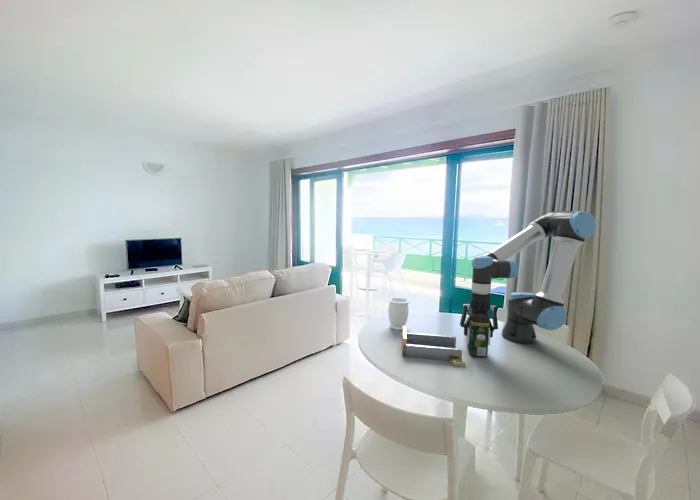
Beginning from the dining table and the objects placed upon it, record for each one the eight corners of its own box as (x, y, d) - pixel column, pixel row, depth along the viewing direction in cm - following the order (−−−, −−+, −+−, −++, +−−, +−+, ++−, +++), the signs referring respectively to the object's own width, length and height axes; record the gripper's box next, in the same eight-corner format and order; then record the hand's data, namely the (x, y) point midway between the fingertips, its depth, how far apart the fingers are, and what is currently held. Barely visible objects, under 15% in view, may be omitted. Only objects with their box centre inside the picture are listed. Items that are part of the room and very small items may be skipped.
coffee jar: (465, 347, 140) (467, 307, 138) (483, 348, 138) (486, 308, 136) (469, 356, 130) (472, 314, 128) (489, 358, 129) (492, 315, 127)
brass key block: (460, 362, 126) (461, 358, 126) (464, 365, 124) (465, 361, 124) (450, 364, 125) (450, 359, 124) (454, 367, 122) (454, 362, 122)
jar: (410, 326, 166) (411, 299, 164) (403, 332, 157) (404, 304, 155) (392, 322, 171) (393, 296, 170) (384, 328, 162) (385, 300, 161)
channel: (454, 346, 141) (455, 330, 140) (461, 361, 126) (462, 343, 125) (401, 342, 145) (402, 325, 144) (402, 356, 130) (403, 338, 129)
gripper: (503, 291, 134) (499, 341, 136) (454, 288, 137) (451, 338, 139) (509, 295, 126) (505, 348, 129) (457, 293, 129) (454, 345, 132)
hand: (477, 343), depth 134 cm, fingers closed on coffee jar, 8 cm apart
